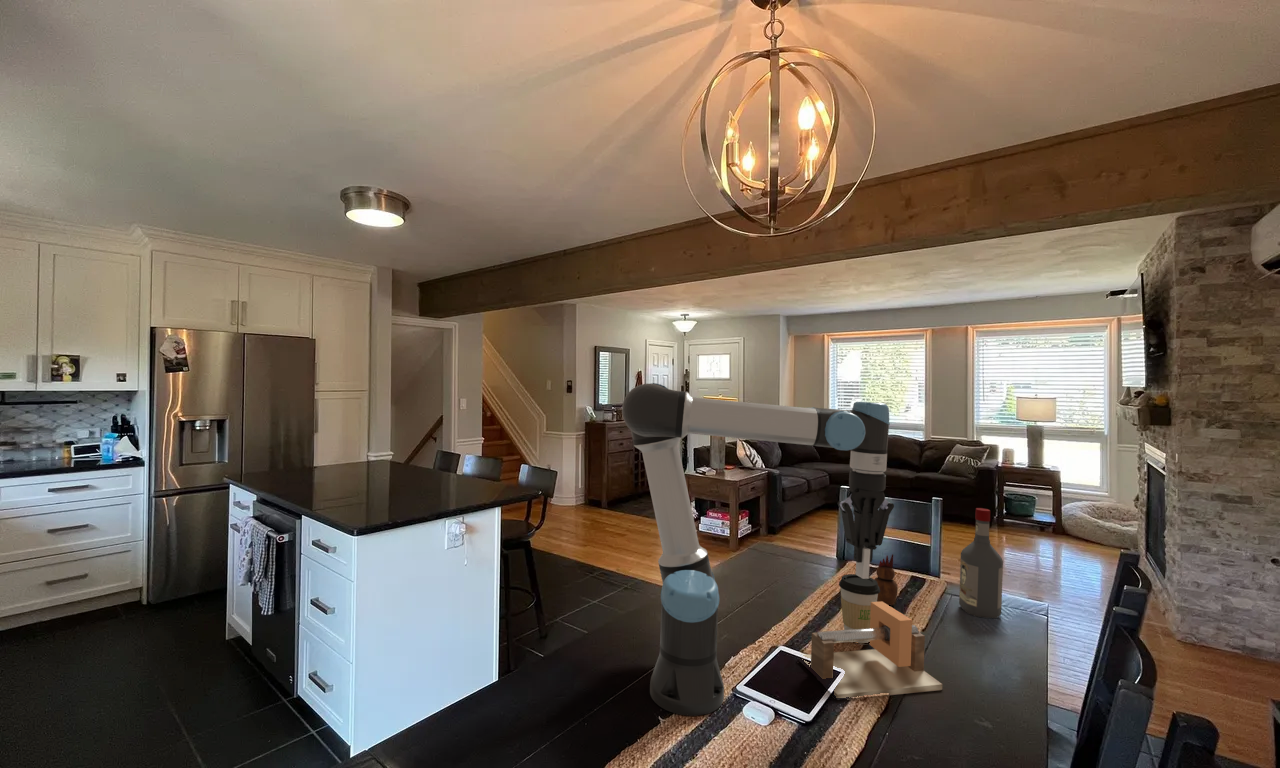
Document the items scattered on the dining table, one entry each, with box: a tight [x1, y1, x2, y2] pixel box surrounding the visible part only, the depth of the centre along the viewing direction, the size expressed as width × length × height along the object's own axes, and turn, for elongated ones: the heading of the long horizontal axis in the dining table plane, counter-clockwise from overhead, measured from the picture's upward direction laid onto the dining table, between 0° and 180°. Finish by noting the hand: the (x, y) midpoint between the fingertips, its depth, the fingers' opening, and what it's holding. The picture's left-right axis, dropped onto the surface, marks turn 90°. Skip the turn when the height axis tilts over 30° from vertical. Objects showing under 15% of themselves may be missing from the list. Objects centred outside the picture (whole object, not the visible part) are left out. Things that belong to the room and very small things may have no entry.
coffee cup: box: [838, 573, 880, 643], centre depth 137 cm, size 10×10×15 cm
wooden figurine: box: [873, 554, 899, 606], centre depth 161 cm, size 7×6×15 cm
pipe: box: [816, 624, 920, 644], centre depth 120 cm, size 24×3×3 cm, turn 102°
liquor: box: [958, 507, 1004, 620], centre depth 157 cm, size 9×9×30 cm
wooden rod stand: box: [802, 631, 943, 698], centre depth 120 cm, size 25×16×9 cm, turn 102°
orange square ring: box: [868, 601, 913, 667], centre depth 121 cm, size 3×10×10 cm, turn 12°
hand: (862, 576), depth 120 cm, fingers closed
